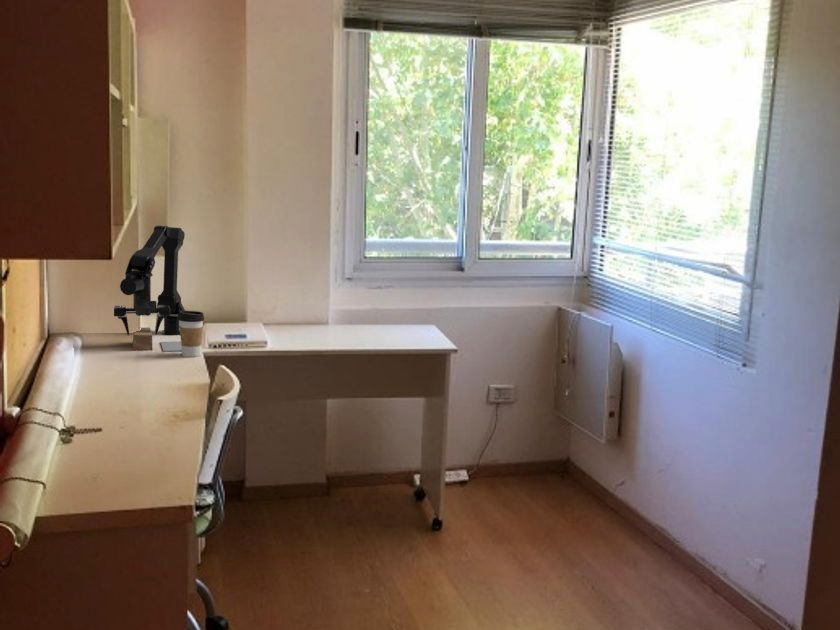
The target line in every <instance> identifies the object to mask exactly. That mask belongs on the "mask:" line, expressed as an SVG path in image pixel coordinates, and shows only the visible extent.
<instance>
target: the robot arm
mask: <svg viewBox="0 0 840 630" xmlns="http://www.w3.org/2000/svg"><path fill="white" fill-rule="evenodd" d="M182 229H183V228H181V227H174V226H168V225H155V226H154V227H153V231H152V233H151V235H150V236H149V237H148V239H147V241H145V243H144V245H143V247H142V248H141V249H138V250H137V251H135V252H134V253H133V254H132V255H131V257H130V258H129V261H128V264H127V266H126V269H125V278H123V279H122V280H121V282H120V284H119V288H120V291H121V293H123V294H124V295H126V296H133V297H132V298H133V299H132V301H133V307H126V306H125V307H122V306H123V305H114V306H115V307H114V306H113V307H114V314H113V316H114V317H117V319H119V320H121V322H122V323H123V325H124V328H125V331H126V334H127V336H130V329H129V323H128V317H127V314H135V315H136V316H137V317H141V316H146V317H147V316H151V314H156V318H155V329H154V334H155V336H157V335H158V332H159V329H160V326H161V323H162V321H163V329H162V330H161V331H162V334H163V335H167V336H168V335H180V320H179V318H178V317H179V312H180V311H186V309H185V307H184V305H183V304H182V297H181V295H180V293H179V291H178V271H179V270H178V269H179V265H178V264H179V262H178V261H179V251H180V250H181V248H182V247H183V245H184V240H185V235H186V234H185V231H184V230H182ZM161 247H162V249H163V251H164V260H163V261H164V263H163V265H164V266H163V289H162V292H161V293H160V294H158V296H157V300H152V299H151V296H152V295H151V294H152V293H151V292H152V291H151V285H152V284H151V282H152V281H151V277H153V276H154V275H153V273H152V272H153V269H154V267H155V264H156V260H155V257H156V256H157V254H158V252H159V251H160V249H161ZM120 306H121V307H120Z"/></svg>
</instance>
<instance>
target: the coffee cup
mask: <svg viewBox="0 0 840 630" xmlns="http://www.w3.org/2000/svg"><path fill="white" fill-rule="evenodd" d="M204 314H205V313H204V312H202V311H196V310H195V311H194V310H185V311H180V312H179V317H178V318H179V320H180V334H179V335H180V341H181V346H182V351H181V355H182V357H185V358H196V357H198V358H199V357H200V356H201V351H202V349H201V347H202V339H203V331H204V325H203V323H204V321H205V315H204Z"/></svg>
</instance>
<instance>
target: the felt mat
mask: <svg viewBox="0 0 840 630" xmlns="http://www.w3.org/2000/svg"><path fill="white" fill-rule="evenodd" d="M159 344H160V346H161V348H162V351H163V353H171V352H173V353H174V352H182V346H181V340H180V341H175V340H174V341H160V342H159Z"/></svg>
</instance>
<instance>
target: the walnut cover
mask: <svg viewBox="0 0 840 630" xmlns="http://www.w3.org/2000/svg"><path fill="white" fill-rule="evenodd" d="M140 328H141V330H140V331H136V332H133V345H132V347H133V351H135V352H138V351H140V352H141V351H142V352H143V351H153V333H152V330H151V328H150V327H148V326H147V327H140ZM136 350H137V351H136Z"/></svg>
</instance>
